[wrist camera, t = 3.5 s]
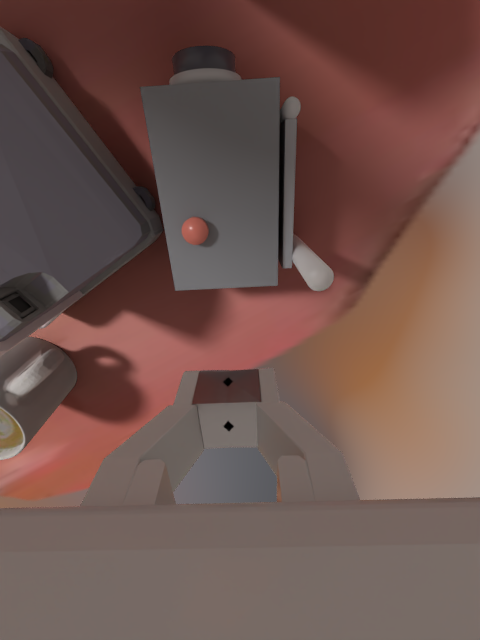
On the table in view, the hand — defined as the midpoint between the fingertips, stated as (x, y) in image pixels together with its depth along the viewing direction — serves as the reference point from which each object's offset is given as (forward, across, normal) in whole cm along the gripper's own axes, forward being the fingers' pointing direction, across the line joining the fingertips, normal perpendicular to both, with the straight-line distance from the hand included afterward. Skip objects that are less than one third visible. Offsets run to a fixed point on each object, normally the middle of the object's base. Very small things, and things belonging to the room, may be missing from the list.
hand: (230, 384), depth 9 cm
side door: (+22, -5, -5) cm, 23 cm away
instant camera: (+22, +19, -6) cm, 30 cm away
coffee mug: (+22, +26, +14) cm, 37 cm away
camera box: (+22, +1, -5) cm, 23 cm away
